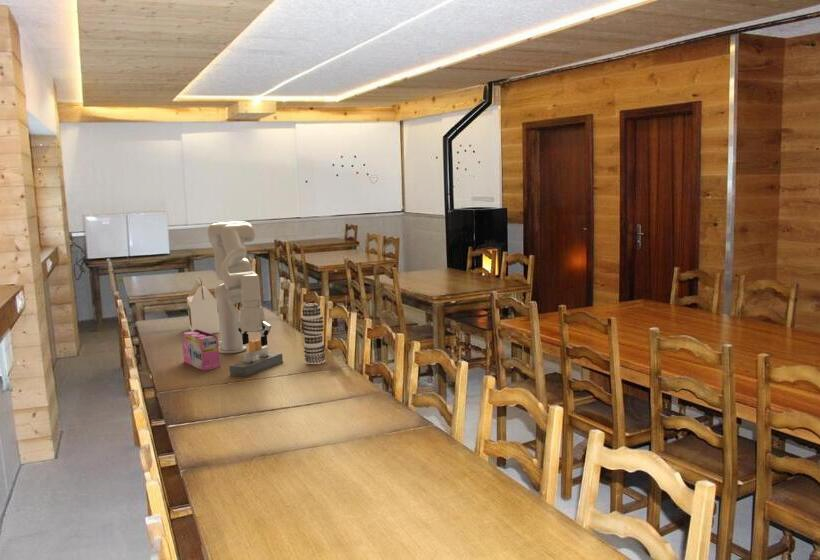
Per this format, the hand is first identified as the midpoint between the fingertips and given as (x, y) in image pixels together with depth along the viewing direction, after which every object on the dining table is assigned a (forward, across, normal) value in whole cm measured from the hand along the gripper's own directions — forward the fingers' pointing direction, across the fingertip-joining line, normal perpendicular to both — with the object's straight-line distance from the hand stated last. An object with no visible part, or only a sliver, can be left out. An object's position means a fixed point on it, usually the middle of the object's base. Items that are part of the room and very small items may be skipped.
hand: (255, 344), depth 310 cm
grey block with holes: (+10, 0, 0) cm, 10 cm away
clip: (+10, 0, 0) cm, 10 cm away
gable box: (+12, -83, +58) cm, 102 cm away
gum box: (+11, -30, -1) cm, 32 cm away
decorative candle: (+10, +18, +16) cm, 26 cm away
